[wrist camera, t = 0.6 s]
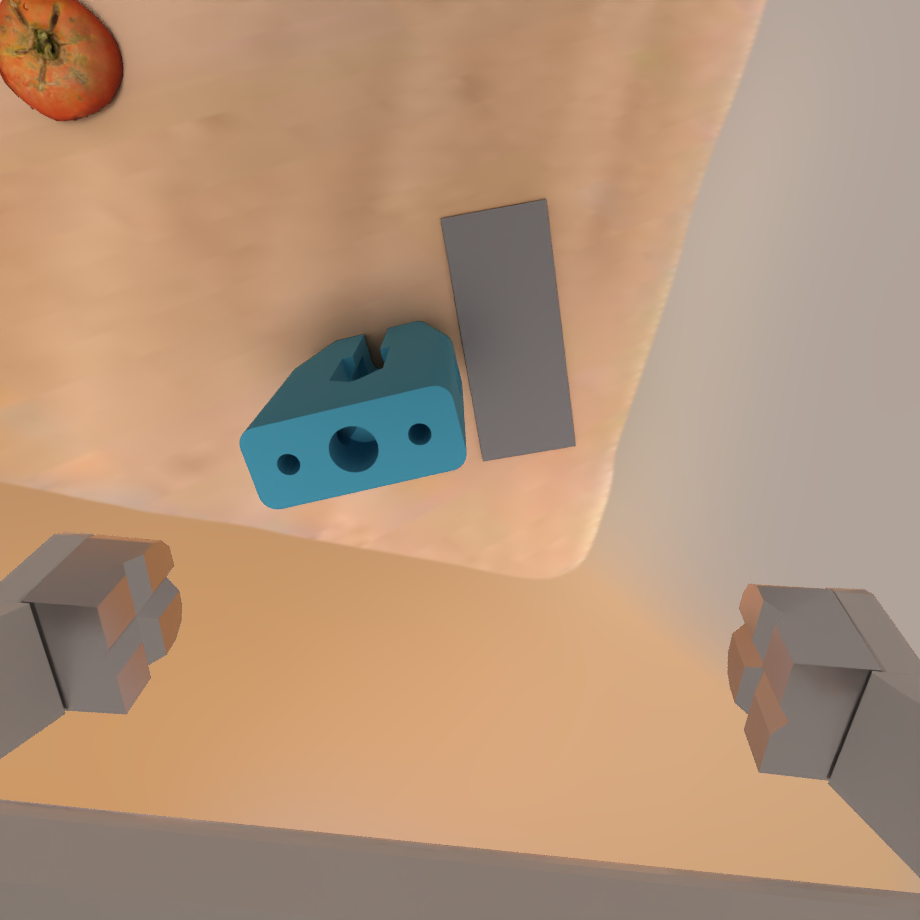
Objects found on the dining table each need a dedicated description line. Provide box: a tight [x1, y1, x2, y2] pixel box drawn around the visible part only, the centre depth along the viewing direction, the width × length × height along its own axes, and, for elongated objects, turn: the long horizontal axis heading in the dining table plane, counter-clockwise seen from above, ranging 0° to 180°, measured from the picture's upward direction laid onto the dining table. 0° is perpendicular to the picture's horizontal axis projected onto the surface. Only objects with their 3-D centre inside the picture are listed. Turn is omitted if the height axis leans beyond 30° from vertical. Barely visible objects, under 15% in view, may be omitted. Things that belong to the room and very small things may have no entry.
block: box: [240, 321, 467, 509], centre depth 47 cm, size 12×5×20 cm, turn 103°
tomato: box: [0, 0, 123, 121], centre depth 47 cm, size 8×7×7 cm
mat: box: [441, 199, 576, 461], centre depth 56 cm, size 20×8×1 cm, turn 10°
